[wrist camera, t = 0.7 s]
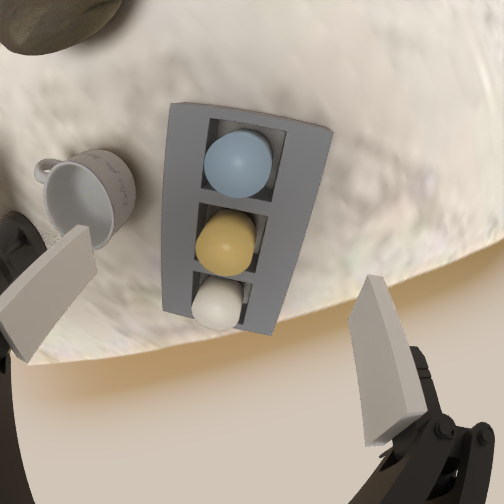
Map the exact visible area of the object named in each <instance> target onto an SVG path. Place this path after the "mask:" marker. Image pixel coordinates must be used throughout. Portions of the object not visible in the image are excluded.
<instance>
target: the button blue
mask: <svg viewBox="0 0 504 504" xmlns="http://www.w3.org/2000/svg"><path fill="white" fill-rule="evenodd" d="M272 162H273V153H272V149H271V146H270V144H269V143H268V141H267V140H266V139H265V138H264V137H263V136H262V135H261V134H259V133H257V132H255V131H253V130H249V129H238V130H234V131H232V132H230V133H228V134H226V135H225V136H223V137H221V138H220V139H218V140H217V141H215V142H214V143H213V144H212V145H211V146H210V148H209V149H208V151H207V153H206V156H205V160H204V170H205V174H206V177H207V179H208V181H209V183H210V184H211V186H212V187H213V188H214V189H215V190H216V191H218V192H219V193H221V194H223V195H225V196H228V197H231V198H245V197H249V196H252V195H254V194H256V193H257V192H259V191H260V190H261V189H262V188H263V187H264V186H265V184H266V183H267V181H268V178H269V175H270V171H271V167H272Z"/></svg>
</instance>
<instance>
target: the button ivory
mask: <svg viewBox="0 0 504 504" xmlns="http://www.w3.org/2000/svg"><path fill="white" fill-rule="evenodd" d="M243 298H244V292H243V288H242V287H241V285H240V284H239V283H238V282H237V281H236V280H233V279H228V278H224V277H219V276H215V275H210V276H208V277H206V278H205V279H204V280H203V281H202V283H201V285H200V287H199V290H198V292H197V295H196V297H195V299H194V302H193V304H192V308H191V311H192V314H193V317H194V318H195V320H196V321H197V322H198V323H199V324H201V325H202V326H204V327H206V328H208V329H211V330H216V331H225V330H229V329H231V328H233V327H234V326H236V324H237V323H238V320H239V316H240V312H241V307H242V302H243Z"/></svg>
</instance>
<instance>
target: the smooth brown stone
mask: <svg viewBox="0 0 504 504" xmlns="http://www.w3.org/2000/svg"><path fill="white" fill-rule="evenodd" d="M122 1H123V0H0V42H1V43H2V44H3V45H4V46H5V47H6V48H7V49H8V50H10V51H11V52H14V53H18V54H22V55H44V54H49V53H54V52H57V51H60V50H63V49H66V48H68V47H71V46H73V45H76V44H78V43H80V42H82V41H84V40H86V39H87V38H89V37H91V36H93V35H94V34H95V33H96V32H98V31H99V30H100V29H101V28H103V27H104V26H105V25H106V24H107V23H108V22H109V21H110V20H111V18H112V17H113V16H114V15H115V13H116V12H117V10H118V9H119V7H120V5H121V3H122Z"/></svg>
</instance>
